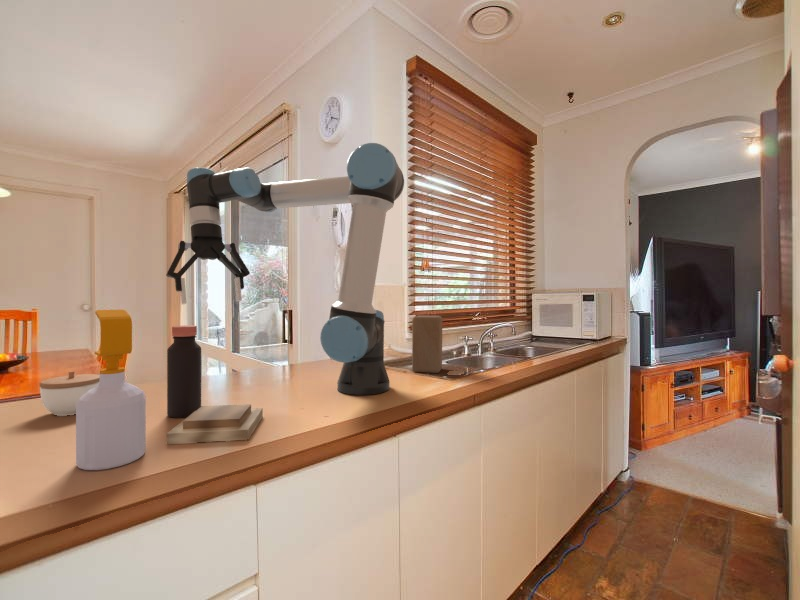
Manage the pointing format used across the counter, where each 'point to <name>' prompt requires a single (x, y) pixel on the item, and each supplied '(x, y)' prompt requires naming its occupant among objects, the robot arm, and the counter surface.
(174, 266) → the robot arm
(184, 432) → the base
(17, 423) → the counter surface
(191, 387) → the vinegar
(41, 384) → the lidded jar
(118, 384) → the soap bottle
